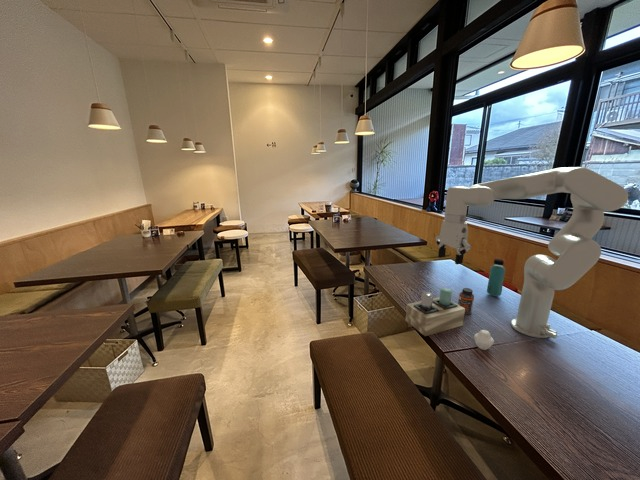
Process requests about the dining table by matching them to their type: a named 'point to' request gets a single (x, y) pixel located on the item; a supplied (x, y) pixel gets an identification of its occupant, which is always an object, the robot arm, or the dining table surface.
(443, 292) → the teal peg
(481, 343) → the white rounded ridged piece
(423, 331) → the socket block
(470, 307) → the supplement bottle
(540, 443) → the dining table surface
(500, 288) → the beverage bottle
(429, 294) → the steel peg
